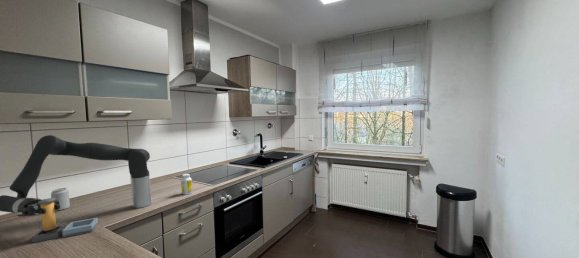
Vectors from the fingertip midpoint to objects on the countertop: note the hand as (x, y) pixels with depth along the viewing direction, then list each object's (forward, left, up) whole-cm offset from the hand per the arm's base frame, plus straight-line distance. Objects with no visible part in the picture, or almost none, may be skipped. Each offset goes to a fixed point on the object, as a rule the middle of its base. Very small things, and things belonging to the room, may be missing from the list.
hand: (51, 209), depth 104 cm
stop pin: (-2, -2, -9) cm, 9 cm away
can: (-46, -12, -13) cm, 49 cm away
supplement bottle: (-35, +56, -13) cm, 67 cm away
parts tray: (-2, +9, -12) cm, 15 cm away
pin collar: (-2, -2, -12) cm, 13 cm away
